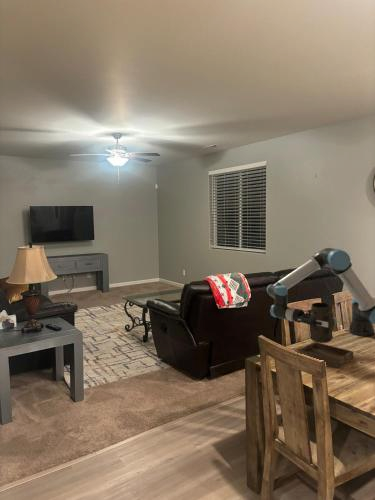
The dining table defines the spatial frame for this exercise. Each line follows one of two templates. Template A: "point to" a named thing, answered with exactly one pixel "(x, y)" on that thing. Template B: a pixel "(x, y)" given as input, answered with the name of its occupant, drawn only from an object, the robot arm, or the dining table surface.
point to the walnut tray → (327, 354)
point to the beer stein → (323, 314)
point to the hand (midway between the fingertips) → (332, 322)
